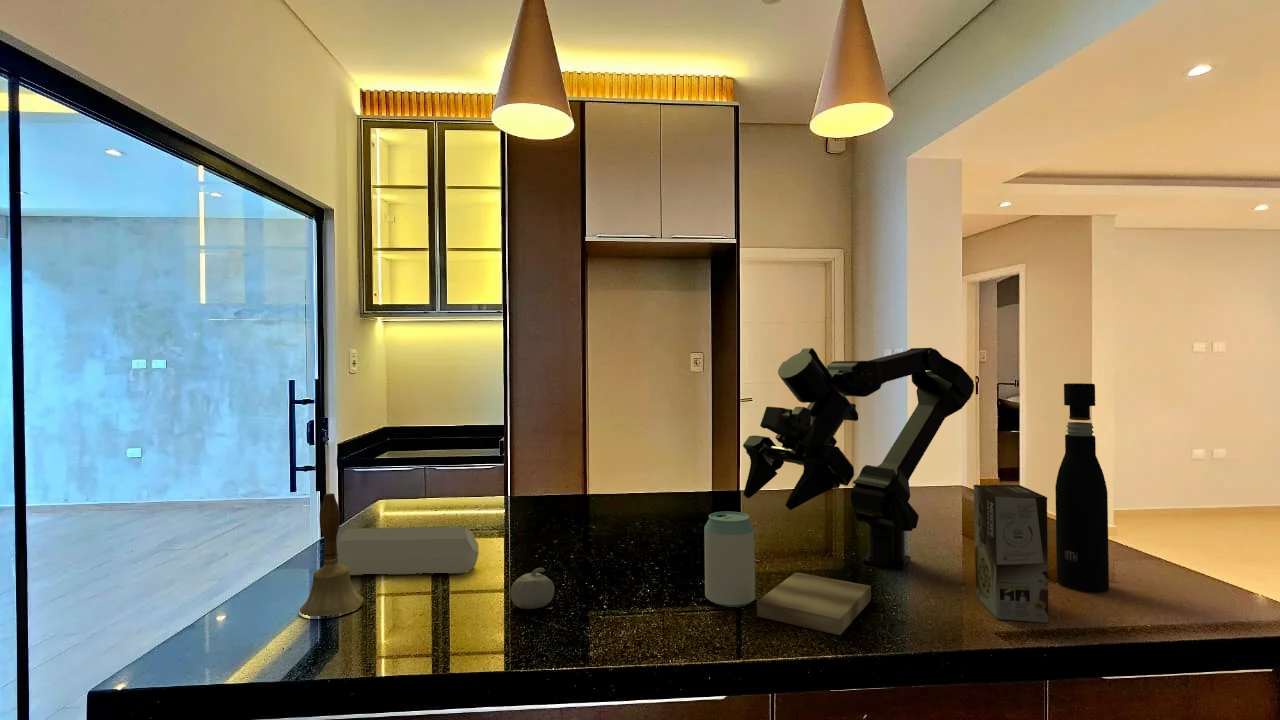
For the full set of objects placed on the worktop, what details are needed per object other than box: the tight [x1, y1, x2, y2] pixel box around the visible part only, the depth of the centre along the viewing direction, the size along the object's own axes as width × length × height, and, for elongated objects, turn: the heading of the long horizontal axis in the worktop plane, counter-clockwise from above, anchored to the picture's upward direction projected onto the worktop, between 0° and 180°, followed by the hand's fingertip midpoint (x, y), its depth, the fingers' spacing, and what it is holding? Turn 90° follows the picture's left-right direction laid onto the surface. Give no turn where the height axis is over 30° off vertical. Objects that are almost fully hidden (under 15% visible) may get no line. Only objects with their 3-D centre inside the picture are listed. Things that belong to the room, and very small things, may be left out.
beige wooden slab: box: [756, 572, 872, 636], centre depth 87 cm, size 14×11×2 cm
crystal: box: [336, 526, 479, 576], centre depth 105 cm, size 7×7×24 cm
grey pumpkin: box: [510, 567, 555, 610], centre depth 89 cm, size 6×5×5 cm
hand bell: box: [299, 493, 364, 616], centre depth 89 cm, size 8×8×16 cm
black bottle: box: [1054, 382, 1110, 594], centre depth 95 cm, size 6×6×30 cm
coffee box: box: [973, 484, 1049, 624], centre depth 86 cm, size 9×6×16 cm
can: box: [703, 511, 756, 608], centre depth 90 cm, size 7×7×12 cm
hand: (765, 502), depth 94 cm, fingers open, 9 cm apart
